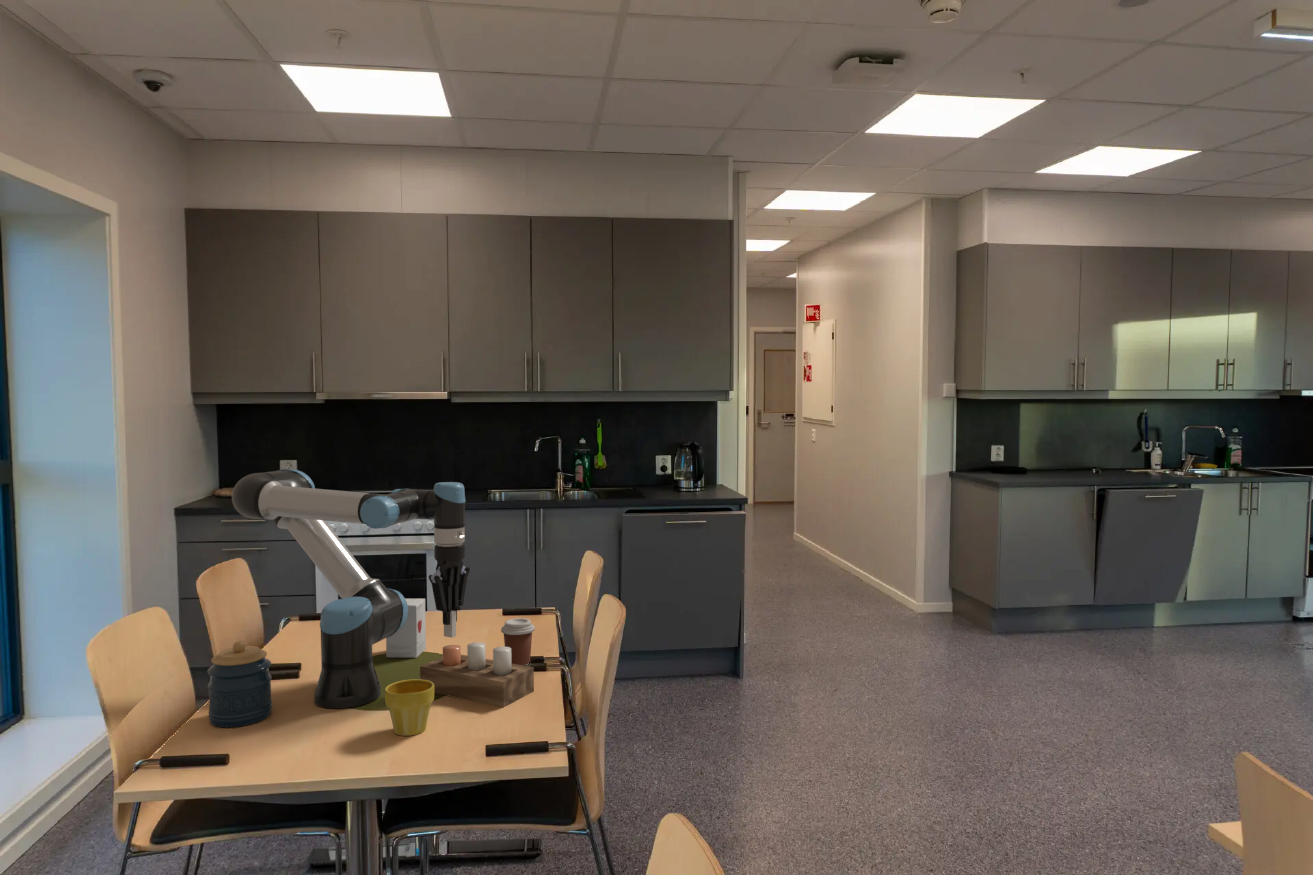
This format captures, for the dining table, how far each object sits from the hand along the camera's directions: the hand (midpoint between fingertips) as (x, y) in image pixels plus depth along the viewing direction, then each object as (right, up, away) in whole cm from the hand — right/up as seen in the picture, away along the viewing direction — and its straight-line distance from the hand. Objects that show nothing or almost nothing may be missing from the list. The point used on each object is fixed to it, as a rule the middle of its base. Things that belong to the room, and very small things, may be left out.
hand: (449, 636), depth 207 cm
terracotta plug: (0, -10, 0) cm, 10 cm away
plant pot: (-2, -14, -28) cm, 31 cm away
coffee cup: (+14, -12, +17) cm, 25 cm away
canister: (-43, -14, -20) cm, 49 cm away
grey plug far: (+15, -8, -7) cm, 18 cm away
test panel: (+8, -13, -3) cm, 15 cm away
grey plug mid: (+8, -8, -3) cm, 12 cm away
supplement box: (-19, -12, +27) cm, 36 cm away
